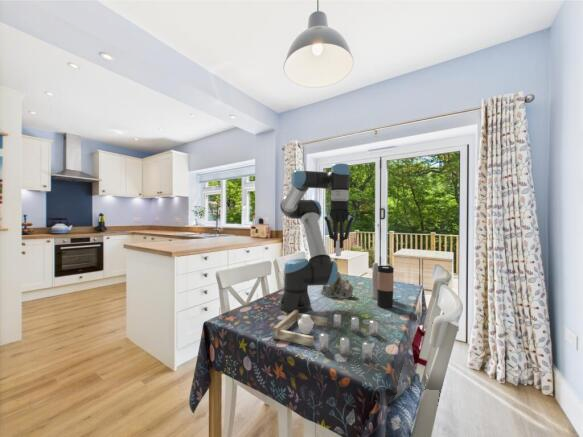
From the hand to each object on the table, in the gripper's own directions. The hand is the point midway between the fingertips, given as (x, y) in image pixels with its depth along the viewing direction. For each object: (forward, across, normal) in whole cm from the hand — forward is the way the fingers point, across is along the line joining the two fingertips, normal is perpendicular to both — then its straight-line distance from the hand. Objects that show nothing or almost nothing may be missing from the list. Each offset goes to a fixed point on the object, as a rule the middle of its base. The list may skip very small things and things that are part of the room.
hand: (338, 255), depth 109 cm
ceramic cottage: (+29, -10, +36) cm, 47 cm away
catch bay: (+28, -9, -16) cm, 34 cm away
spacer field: (+28, +9, -16) cm, 33 cm away
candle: (+29, +15, +44) cm, 55 cm away
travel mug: (+29, +17, +30) cm, 44 cm away
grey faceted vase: (+28, -8, -16) cm, 34 cm away
